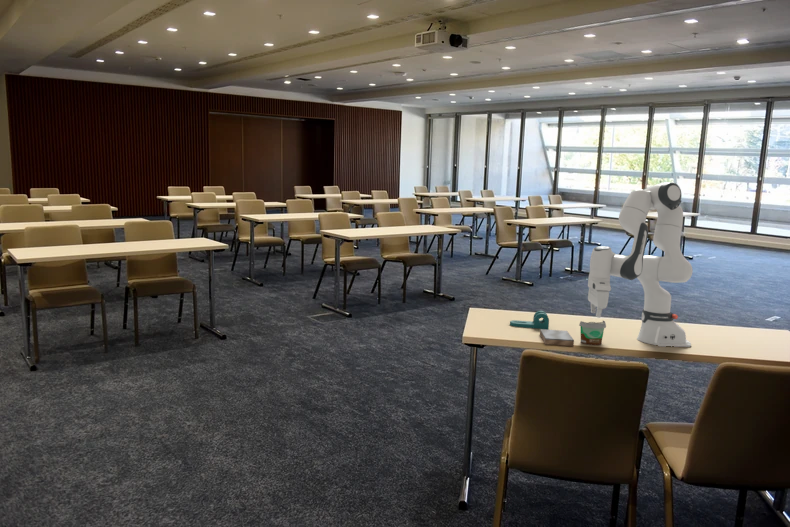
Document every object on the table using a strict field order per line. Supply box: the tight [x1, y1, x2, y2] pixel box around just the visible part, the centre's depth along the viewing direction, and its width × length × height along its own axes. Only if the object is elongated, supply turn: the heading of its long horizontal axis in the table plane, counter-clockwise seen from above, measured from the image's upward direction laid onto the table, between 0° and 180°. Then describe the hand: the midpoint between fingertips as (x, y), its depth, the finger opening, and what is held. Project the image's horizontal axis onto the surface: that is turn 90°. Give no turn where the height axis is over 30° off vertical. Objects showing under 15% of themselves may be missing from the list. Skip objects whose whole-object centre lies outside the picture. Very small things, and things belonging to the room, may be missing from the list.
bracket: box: [509, 310, 550, 330], centre depth 294 cm, size 18×7×8 cm, turn 81°
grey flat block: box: [539, 329, 575, 347], centre depth 270 cm, size 12×16×3 cm
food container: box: [578, 320, 607, 346], centre depth 266 cm, size 12×6×10 cm, turn 105°
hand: (595, 315), depth 265 cm, fingers open, 8 cm apart
